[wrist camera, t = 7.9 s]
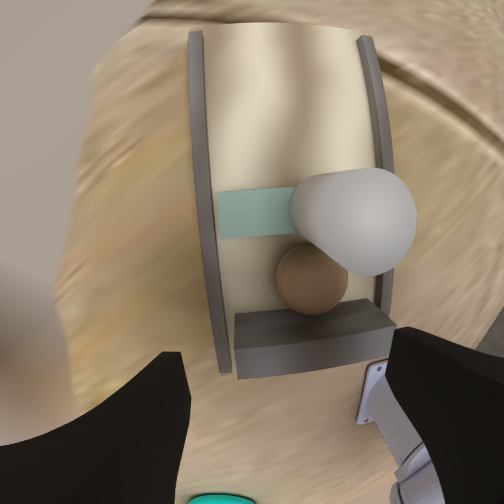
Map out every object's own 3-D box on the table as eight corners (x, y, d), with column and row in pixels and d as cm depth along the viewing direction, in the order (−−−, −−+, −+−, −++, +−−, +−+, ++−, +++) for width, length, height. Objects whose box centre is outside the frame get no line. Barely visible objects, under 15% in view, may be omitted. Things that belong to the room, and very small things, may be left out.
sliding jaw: (369, 176, 15) (476, 175, 7) (371, 224, 16) (473, 260, 7) (221, 183, 15) (199, 175, 6) (226, 235, 16) (211, 292, 7)
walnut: (334, 233, 16) (361, 247, 12) (333, 294, 17) (357, 321, 13) (269, 238, 16) (279, 254, 12) (273, 301, 17) (283, 332, 13)
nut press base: (356, 40, 15) (390, 5, 9) (370, 344, 20) (402, 384, 15) (192, 38, 14) (178, -7, 9) (221, 363, 20) (218, 416, 14)
